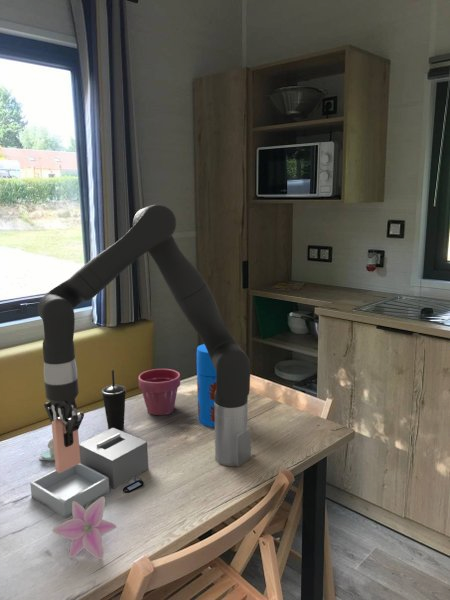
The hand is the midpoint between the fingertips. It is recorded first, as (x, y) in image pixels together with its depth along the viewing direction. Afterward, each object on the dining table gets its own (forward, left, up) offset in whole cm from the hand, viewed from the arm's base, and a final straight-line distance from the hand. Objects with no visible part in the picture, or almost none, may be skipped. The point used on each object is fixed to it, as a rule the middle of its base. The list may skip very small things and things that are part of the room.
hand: (66, 444), depth 122 cm
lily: (-19, +9, -14) cm, 25 cm away
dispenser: (0, -14, -14) cm, 20 cm away
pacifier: (+20, -8, -14) cm, 26 cm away
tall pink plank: (0, 0, -6) cm, 6 cm away
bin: (0, 0, -14) cm, 14 cm away
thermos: (-3, -54, -14) cm, 56 cm away
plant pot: (+17, -49, -14) cm, 54 cm away
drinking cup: (+18, -30, -14) cm, 38 cm away
